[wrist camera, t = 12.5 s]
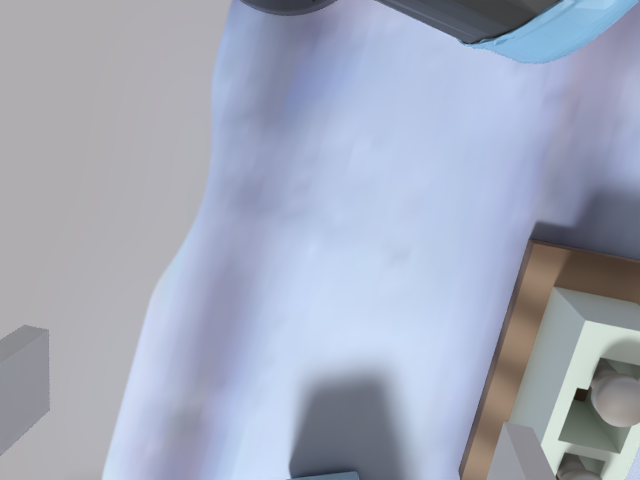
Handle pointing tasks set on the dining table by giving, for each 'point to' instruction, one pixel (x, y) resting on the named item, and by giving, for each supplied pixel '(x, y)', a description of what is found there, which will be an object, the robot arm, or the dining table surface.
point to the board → (518, 339)
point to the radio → (332, 476)
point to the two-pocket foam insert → (580, 380)
